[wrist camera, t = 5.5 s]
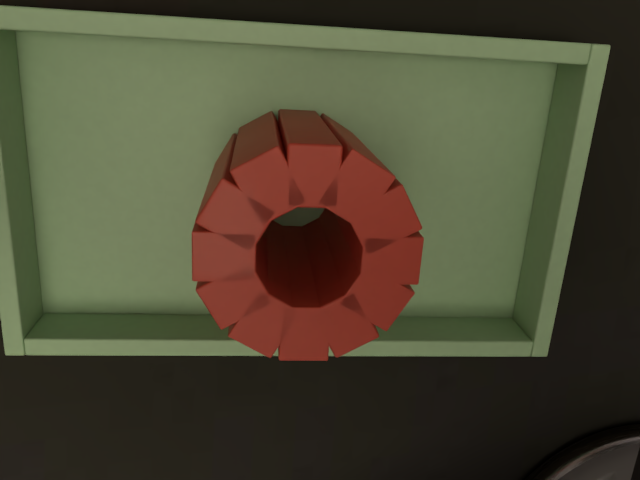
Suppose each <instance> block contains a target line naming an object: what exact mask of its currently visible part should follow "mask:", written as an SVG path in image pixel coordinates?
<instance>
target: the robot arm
mask: <svg viewBox="0 0 640 480" xmlns="http://www.w3.org/2000/svg"><path fill="white" fill-rule="evenodd" d="M526 480H640V424H634V425H627V426H621V427H617V428H612V429H609V430H605V431H602V432H599V433H596V434H593V435H591V436H588V437H586V438H584V439H581V440H579V441H577V442H575V443H573V444H571V445H570V446H568V447H566V448H564V449H563V450H561V451H559V452H558V453H556V454H555V455H553V456H552V457H551V458H549V459H548V460H547V461H545V462H544V463H543V464H542V465H540V466H539V467H538V468H537V469H536V470H535V471H534V472H533V473H532V474H530V475H529V476H528V477H527V479H526Z"/></svg>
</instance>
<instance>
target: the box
mask: <svg viewBox="0 0 640 480" xmlns="http://www.w3.org/2000/svg"><path fill="white" fill-rule="evenodd" d="M610 48H611V47H610V45H606V44H589V43H576V42H560V41H545V40H529V39H514V38H499V37H483V36H468V35H453V34H437V33H422V32H406V31H391V30H376V29H360V28H345V27H329V26H314V25H299V24H283V23H268V22H252V21H237V20H222V19H206V18H191V17H176V16H160V15H145V14H129V13H114V12H99V11H83V10H68V9H52V8H37V7H22V6H6V5H0V318H1V326H2V334H3V342H4V350H5V355H25V354H26V355H102V356H265V355H263V354H261V353H259V352H257V351H255V350H253V349H251V348H249V347H247V346H246V345H244V344H242V343H240V342H238V341H236V340H234V339H232V338H230V337H229V336H228V329H229V326H228V327H226V328H224V329H222V330H221V329H220V328H219V326H218V325H217V323H216V322H215V320H214V318H213V317H212V315H211V314H210V312H209V311H208V309H207V307H206V306H205V304H204V303H203V301H202V300H201V298H200V297H199V295H198V293H197V292H196V286H197V282H198V281H192V230H193V227H194V224H195V220H196V217H197V214H198V211H199V208H200V205H201V202H202V200H203V197H204V194H205V191H206V188H207V185H208V182H209V179H210V177H211V174H212V171H213V168H214V165H215V162H216V161H217V159H218V158H219V156H220V154H221V153H222V151H223V149H224V148H225V146H226V144H227V143H228V141H229V139H230V138H231V136H232V134H234V133H235V134H237V135H238V131H239V128H240V127H241V126H243V125H245V124H247V123H249V122H251V121H253V120H255V119H257V118H259V117H260V116H262V115H264V114H266V113H268V112H270V111H273V113H274V115H275V117H276V119H277V121H278V111H279V110H280V109H289V110H310V111H316V112H317V113H318V115H319V116H321V114H322V113H324V114H325V115H327V116H328V117H330V118H331V119H333V120H334V121H336V122H337V123H339V124H340V125H342V126H343V127H345V128H346V129H348V130H349V131H351V132H352V133H353V134H354V135H355V136H356V137H357V138H358V139H359V140H360V141H361V142H362V143H363V144H364V145H365V146H366V147H367V148H368V149H369V150H370V151H371V152H372V153H373V154H374V155H375V156H376V157H377V158H378V159H379V160H380V161H381V162H382V163H383V164H384V165H385V166H386V167H387V168H388V169H389V170H390V171H391V172H392V173H393V174H394V175H395V177H396V179H397V180H398V181H399V182H400V183H401V184H402V185H403V186H404V189H405V191H406V193H407V195H408V197H409V199H410V201H411V204H412V206H413V208H414V210H415V212H416V214H417V217H418V219H419V221H420V223H421V225H422V229H421V230H419V232H420V234H421V235H422V236H423V237H424V243H423V251H422V259H421V268H420V276H419V283H418V284H417V285H410V286H411V287H412V289H413V290H414V292H415V294H414V295H413V297H412V298H411V299H410V301H409V302H408V303H407V305H406V306H405V307H404V309H403V310H402V312H401V313H400V314H399V316H398V317H397V318H396V320H395V321H394V322H393V324H392V325H391V326H390V328H389V329H388V330H387V331H384V330H383V329H381V328H379V327H377V326H376V325H375V326H376V328H377V331H378V333H379V337H378V338H376V339H374V340H372V341H370V342H368V343H366V344H364V345H362V346H360V347H358V348H356V349H354V350H352V351H350V352H348V353H346V354H344V355H342V356H490V357H529V356H530V355H531V356H532V357H546V356H547V355H548V350H549V345H550V340H551V335H552V330H553V325H554V320H555V316H556V311H557V306H558V301H559V296H560V291H561V286H562V281H563V277H564V272H565V267H566V262H567V257H568V252H569V247H570V242H571V238H572V233H573V228H574V223H575V218H576V213H577V208H578V204H579V199H580V194H581V189H582V184H583V179H584V174H585V169H586V165H587V160H588V155H589V150H590V145H591V140H592V135H593V130H594V126H595V121H596V116H597V111H598V106H599V101H600V96H601V91H602V87H603V82H604V77H605V72H606V67H607V62H608V57H609V52H610ZM324 209H325V208H302V207H298V208H296V209H294V210H292V211H290V212H288V213H286V214H284V215H282V216H280V217H278V218H276V219H274V221H275V222H277V223H279V224H280V225H282V226H304V225H306V224H308V223H310V222H312V221H314V220H315V219H317V218H319V217H320V215H321V214H322V212H323V211H324ZM273 356H278V348H277V350H276V351H275V353H274V354H273ZM328 356H334V354H333V352H332V350H331V349H330V347H329V353H328Z"/></svg>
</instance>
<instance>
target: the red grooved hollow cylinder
mask: <svg viewBox="0 0 640 480" xmlns="http://www.w3.org/2000/svg"><path fill="white" fill-rule="evenodd" d="M298 207H302V208H325V209H324V211H323V212H322V214H321V215H320V217H319V218H317V219H315V220H314V221H312V222H310V223H308V224H306V225H304V226H282V225H280V224H279V223H277V222H275V221H274V219H276V218H278V217H280V216H282V215H284V214H286V213H288V212H290V211H292V210H294V209H296V208H298ZM421 229H422V225H421V223H420V221H419V219H418V217H417V214H416V212H415V210H414V208H413V206H412V204H411V201H410V199H409V197H408V195H407V193H406V191H405V189H404V186H403V185H402V184H401V183H400V182H399V181H398V180H397V179H396V177H395V175H394V174H393V173H392V172H391V171H390V170H389V169H388V168H387V167H386V166H385V165H384V164H383V163H382V162H381V161H380V160H379V159H378V158H377V157H376V156H375V155H374V154H373V153H372V152H371V151H370V150H369V149H368V148H367V147H366V146H365V145H364V144H363V143H362V142H361V141H360V140H359V139H358V138H357V137H356V136H355V135H354V134H353V133H352V132H351V131H349V130H348V129H346V128H345V127H343V126H342V125H340V124H339V123H337V122H336V121H334V120H333V119H331V118H330V117H328V116H327V115H325V114H324V113H322V114H321V116H319V115H318V113H317V112H316V111H310V110H289V109H280V110H279V111H278V121H277V119H276V117H275V115H274V113H273V111H270V112H268V113H266V114H264V115H262V116H260V117H259V118H257V119H255V120H253V121H251V122H249V123H247V124H245V125H243V126H241V127H240V128H239V131H238V135H237V134H235V133H234V134H232V136H231V138H230V139H229V141H228V143H227V144H226V146H225V148H224V149H223V151H222V153H221V154H220V156H219V158H218V159H217V161H216V162H215V165H214V168H213V171H212V174H211V177H210V179H209V182H208V185H207V188H206V191H205V194H204V197H203V200H202V202H201V205H200V208H199V211H198V214H197V217H196V220H195V224H194V227H193V230H192V281H198V282H197V286H196V292H197V293H198V295H199V297H200V298H201V300H202V301H203V303H204V304H205V306H206V307H207V309H208V311H209V312H210V314H211V315H212V317H213V318H214V320H215V322H216V323H217V325H218V326H219V328H220V329H221V330H222V329H224V328H226V327H228V326H229V329H228V336H229V337H230V338H232V339H234V340H236V341H238V342H240V343H242V344H244V345H246V346H247V347H249V348H251V349H253V350H255V351H257V352H259V353H261V354H263V355H265V356H267V357H269V358H271V357H272V356H273V354H274V353H275V351H276V350H277V348H278V357H279V360H280V361H327V360H328V353H329V347H330V349H331V350H332V352H333V354H334V356H335V357H336V358H337V357H340V356H342V355H344V354H346V353H348V352H350V351H352V350H354V349H356V348H358V347H360V346H362V345H364V344H366V343H368V342H370V341H372V340H374V339H376V338H378V337H379V333H378V331H377V328H376V326H377V327H379V328H381V329H383V330H384V331H387V330H388V329H389V328H390V326H391V325H392V324H393V322H394V321H395V320H396V318H397V317H398V316H399V314H400V313H401V312H402V310H403V309H404V307H405V306H406V305H407V303H408V302H409V301H410V299H411V298H412V297H413V295H414V294H415V292H414V290H413V289H412V287H411V286H410V285H417V284H418V283H419V276H420V268H421V259H422V251H423V243H424V237H423V236H422V235H421V234H420V232H419V230H421ZM375 325H376V326H375Z"/></svg>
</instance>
